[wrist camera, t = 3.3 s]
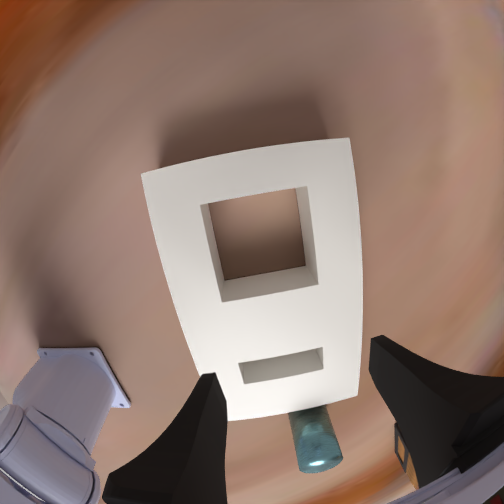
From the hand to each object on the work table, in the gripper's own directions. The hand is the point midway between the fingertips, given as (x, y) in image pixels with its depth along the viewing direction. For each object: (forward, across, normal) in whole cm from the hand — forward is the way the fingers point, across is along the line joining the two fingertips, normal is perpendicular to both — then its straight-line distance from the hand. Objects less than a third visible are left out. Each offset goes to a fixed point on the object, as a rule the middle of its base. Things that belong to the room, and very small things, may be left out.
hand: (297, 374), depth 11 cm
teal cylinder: (+9, -1, +15) cm, 18 cm away
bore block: (+9, 0, 0) cm, 9 cm away
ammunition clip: (+10, -15, +29) cm, 34 cm away
